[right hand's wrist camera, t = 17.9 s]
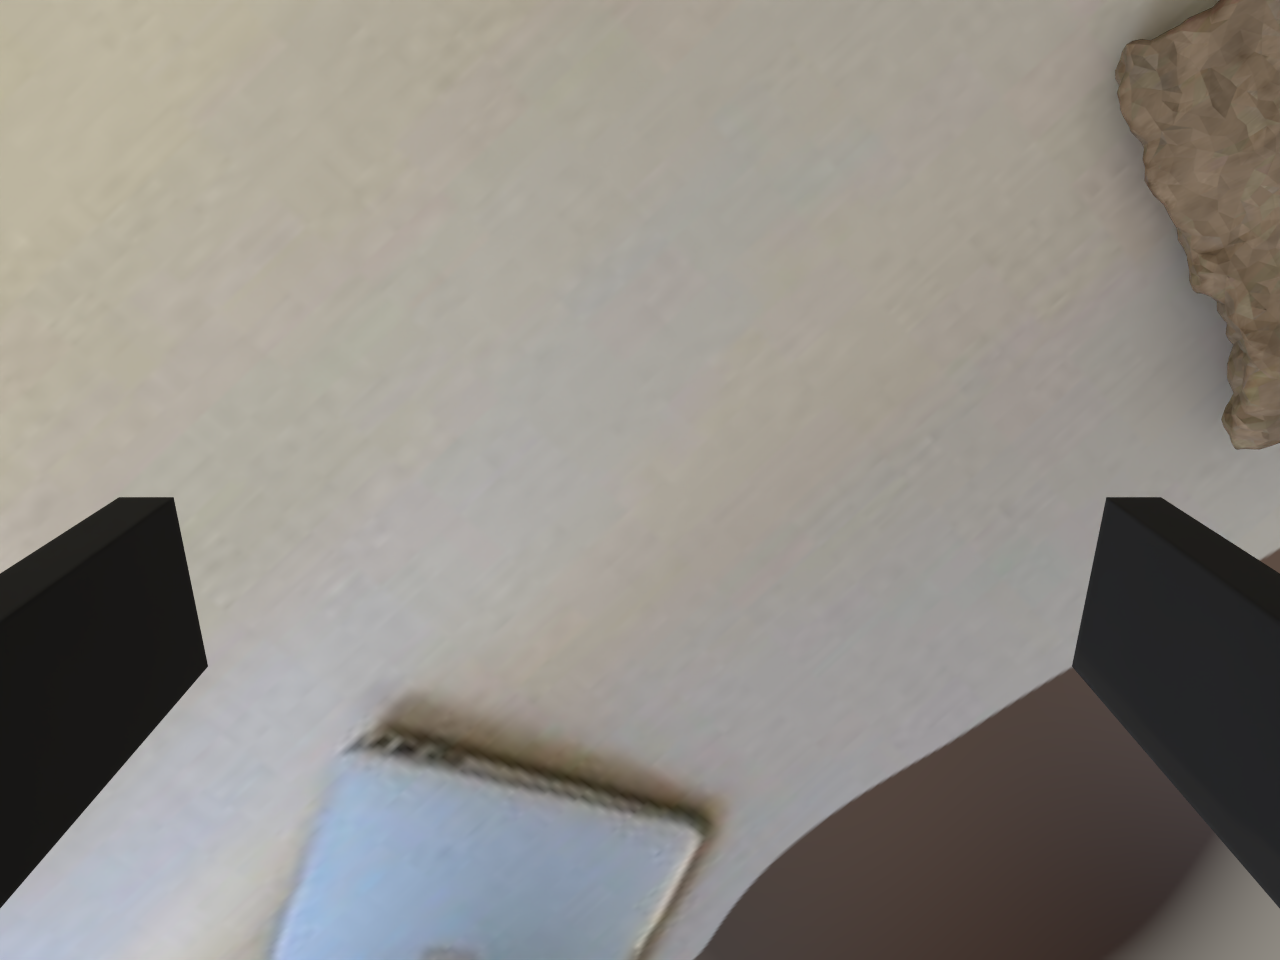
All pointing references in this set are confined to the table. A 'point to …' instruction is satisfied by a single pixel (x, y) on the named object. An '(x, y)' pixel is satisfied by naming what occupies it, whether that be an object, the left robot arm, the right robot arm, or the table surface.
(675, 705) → the table surface
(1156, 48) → the stone
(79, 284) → the table surface
